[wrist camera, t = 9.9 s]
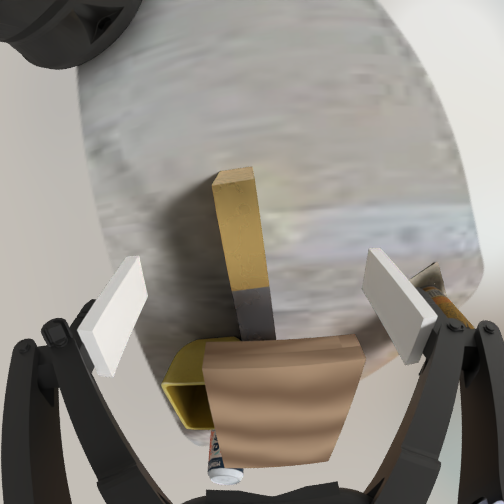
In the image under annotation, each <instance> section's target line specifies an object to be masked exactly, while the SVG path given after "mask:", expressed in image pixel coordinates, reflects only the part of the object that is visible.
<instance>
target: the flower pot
mask: <svg viewBox="0 0 504 504" xmlns="http://www.w3.org/2000/svg"><path fill="white" fill-rule="evenodd" d="M233 341H240V340H239V339H238V338H236V337H223V338H212V339H198V340H195V341H193V342H191V343H189V344H187V345H186V346H184V347H183V348H182V349H181V350H180V351H179V352H178V353H177V354H176V356H175V357H174V359H173V361H172V363H171V365H170V367H169V369H168V371H167V373H166V376H165V378H164V380H163V382H162V384H161V387H162V389H163V390H164V392H165V394H166V396H167V398H168V399H169V401H170V403H171V404H172V406H173V408H174V410H175V411H176V413H177V415H178V416H179V418H180V420H181V422H182V423H183V425H184V426H185V428H186V429H192V430H215V427H214V423H213V418H212V414H211V409H210V405H209V400H208V396H207V391H206V386H205V381H204V376H203V371H202V365H203V359H204V352H205V346H206V342H233Z"/></svg>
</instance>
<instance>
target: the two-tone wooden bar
mask: <svg viewBox="0 0 504 504" xmlns="http://www.w3.org/2000/svg"><path fill="white" fill-rule="evenodd" d="M212 191H213V196H214V202H215V207H216V213H217V218H218V224H219V229H220V234H221V239H222V245H223V250H224V255H225V260H226V265H227V270H228V275H229V280H230V285H231V290H232V295H233V300H234V305H235V310H236V314H237V319H238V324H239V329H240V333H241V338H242V341H267V340H276V335H275V327H274V319H273V311H272V303H271V295H270V288H269V280H268V272H267V265H266V257H265V250H264V243H263V235H262V228H261V221H260V213H259V206H258V199H257V192H256V185H255V178H254V173H253V168H252V167H245V168H238V169H232V170H225V171H220V172H219V174H218V175H217V177H216V179H215V180H214V182H213V184H212Z"/></svg>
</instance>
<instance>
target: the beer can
mask: <svg viewBox="0 0 504 504" xmlns="http://www.w3.org/2000/svg"><path fill="white" fill-rule="evenodd" d="M209 450H210V451H209V462H208V475H209V477H210V479H211V481H212V482H214V483H217V484H220V485H234V484H237V483H239V482H240V480H241V479H242V478H243V468H225V467H224V463H223V459H222V455H221V452H220V448H219V444H218V439H217V435H216V431H215V430H211V436H210V449H209Z"/></svg>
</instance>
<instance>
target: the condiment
mask: <svg viewBox="0 0 504 504" xmlns="http://www.w3.org/2000/svg"><path fill="white" fill-rule="evenodd" d="M409 281H410V282H411V284H412V285H413V286H414V287H415V288H416V287H419V288H421V289H422V290H424V291H425V292H427V293H428V295H429V296H430V297H431V299H433V301H434V302H435V304H437V305H438V307H439V308H440V309H441V310H442V311H443V313H444V314H445V315H446V316H447V318H454V319H457V320H459V321H461V322H462V323H463V324H464V325H465V327H466V328H468V329H475V328H474V327H473V326H472V324H471V323H470V322H469V321H468V320H467V319H466V318H465V317H464V315H463V314H462V313H461V312H460V311H459V310H458V309H457V308H456V307H455V305H454V304H453V303H452V302H451V301H450V300H449V299H448V298H447V295H446V292H445V288H444V282H443V279H442V275H441V272H440V267H439V264H438V262H436V263H435V264H433V265H431V266H430V267H428V268H427V269H425V270H424V271H422V272H420V273H419V274H418V275H416V276H415V277H413V278H412V279H410V280H409ZM434 283H435V284H434Z"/></svg>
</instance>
